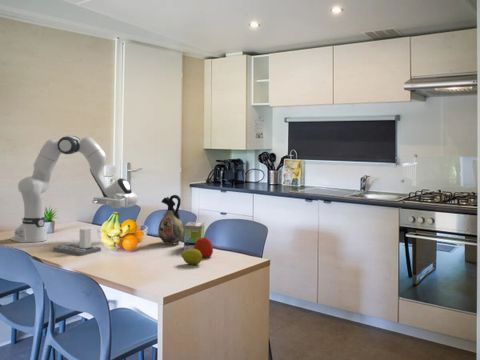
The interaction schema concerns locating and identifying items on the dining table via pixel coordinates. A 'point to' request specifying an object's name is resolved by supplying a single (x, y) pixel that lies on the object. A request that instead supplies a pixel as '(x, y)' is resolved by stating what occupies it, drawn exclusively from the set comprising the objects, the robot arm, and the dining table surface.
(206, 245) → the apple
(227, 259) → the dining table surface
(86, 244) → the fader knob
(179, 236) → the ceramic jug
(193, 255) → the lemon
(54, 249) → the console
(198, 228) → the tea box
